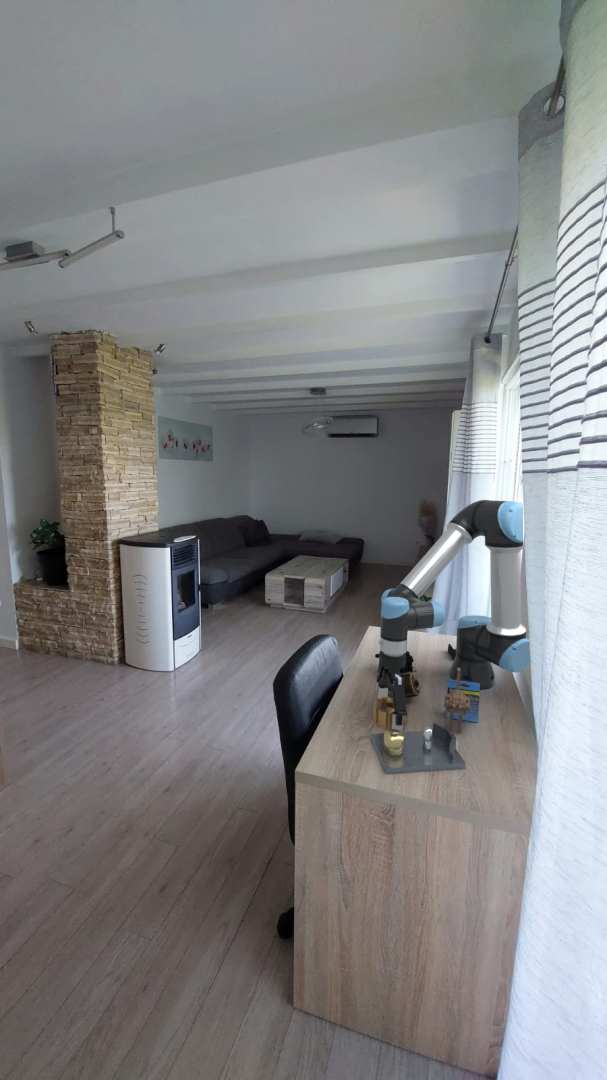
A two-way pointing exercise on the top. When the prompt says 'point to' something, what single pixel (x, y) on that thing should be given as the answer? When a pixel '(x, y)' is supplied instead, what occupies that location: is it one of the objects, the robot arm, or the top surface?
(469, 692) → the label tape cartridge
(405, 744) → the carrier
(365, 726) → the top surface
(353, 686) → the top surface
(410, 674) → the mechanical counter
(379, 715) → the gear
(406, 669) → the extrusion
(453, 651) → the battery charger
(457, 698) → the ostrich figurine
